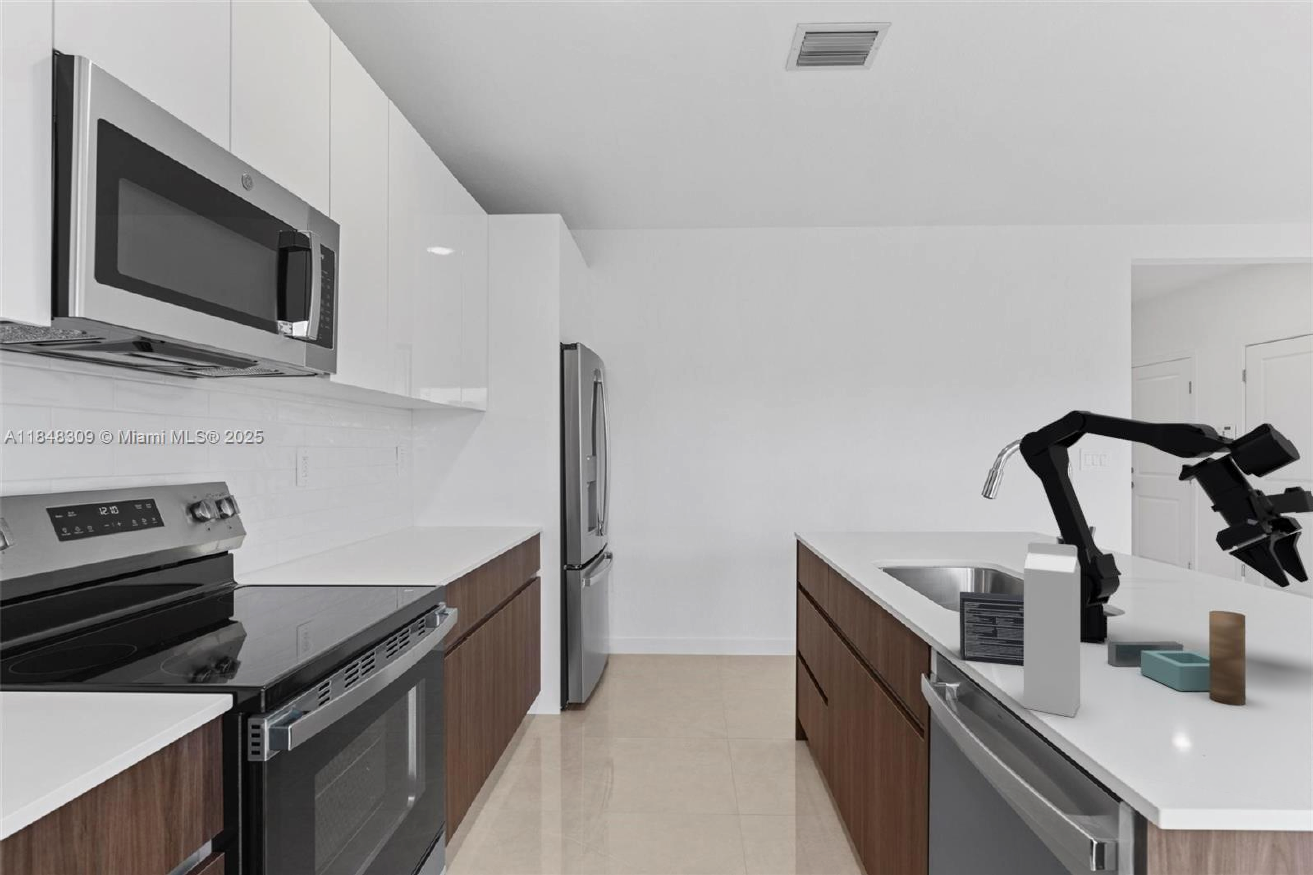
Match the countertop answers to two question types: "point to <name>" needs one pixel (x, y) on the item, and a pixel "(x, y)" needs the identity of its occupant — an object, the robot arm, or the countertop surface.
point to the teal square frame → (1177, 669)
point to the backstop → (1136, 651)
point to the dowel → (1227, 657)
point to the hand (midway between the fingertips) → (1295, 583)
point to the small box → (992, 627)
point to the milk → (1052, 629)
